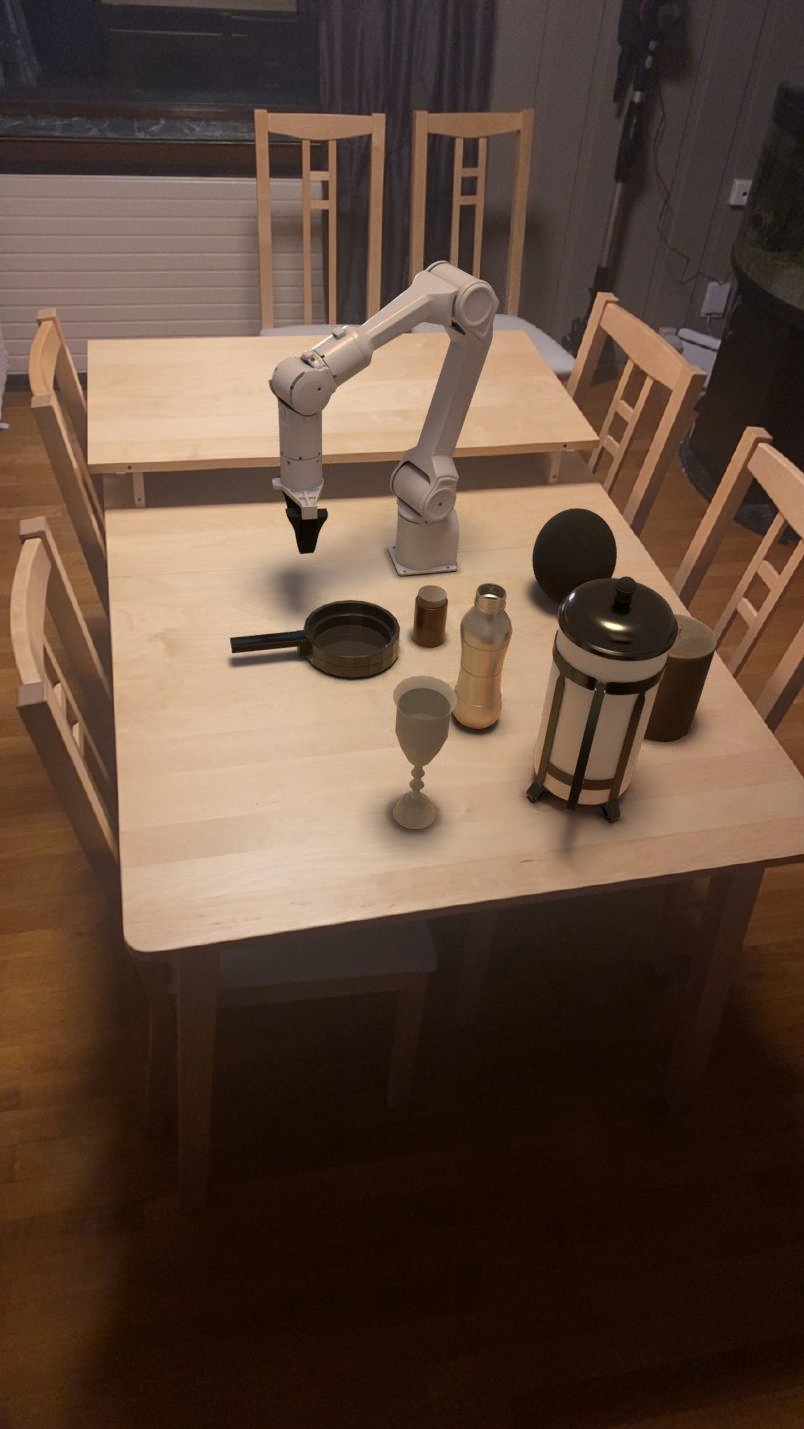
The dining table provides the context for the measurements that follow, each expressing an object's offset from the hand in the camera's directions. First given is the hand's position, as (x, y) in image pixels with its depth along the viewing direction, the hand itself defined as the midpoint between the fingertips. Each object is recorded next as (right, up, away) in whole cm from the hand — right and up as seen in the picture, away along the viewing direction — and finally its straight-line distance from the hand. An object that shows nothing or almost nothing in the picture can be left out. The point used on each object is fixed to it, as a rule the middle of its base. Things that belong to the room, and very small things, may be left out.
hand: (302, 538), depth 143 cm
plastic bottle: (+24, -26, -12) cm, 37 cm away
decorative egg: (+39, -8, +10) cm, 41 cm away
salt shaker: (+18, -14, +1) cm, 23 cm away
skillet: (+7, -16, -3) cm, 18 cm away
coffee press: (+36, -35, -21) cm, 54 cm away
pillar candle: (+48, -26, -10) cm, 55 cm away
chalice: (+16, -37, -25) cm, 48 cm away
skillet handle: (-4, -17, -5) cm, 18 cm away
